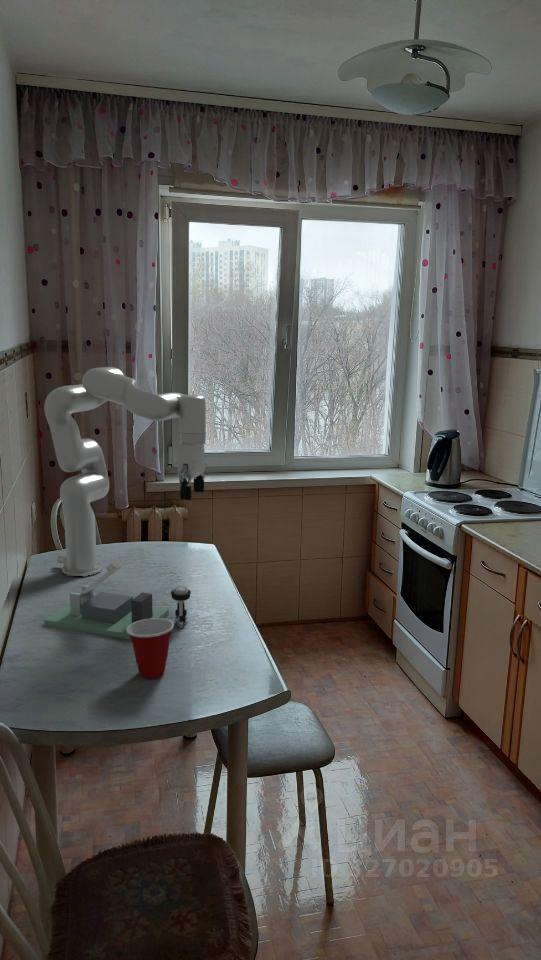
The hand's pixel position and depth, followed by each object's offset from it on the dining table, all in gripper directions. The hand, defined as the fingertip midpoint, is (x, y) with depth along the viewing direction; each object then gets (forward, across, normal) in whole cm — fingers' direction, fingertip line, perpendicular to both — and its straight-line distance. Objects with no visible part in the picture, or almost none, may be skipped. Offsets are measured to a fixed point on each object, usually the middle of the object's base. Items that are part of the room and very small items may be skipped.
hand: (192, 495), depth 207 cm
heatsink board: (+30, +27, -14) cm, 43 cm away
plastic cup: (+30, +51, +11) cm, 60 cm away
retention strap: (+20, +27, -15) cm, 37 cm away
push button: (+30, +24, +7) cm, 39 cm away
